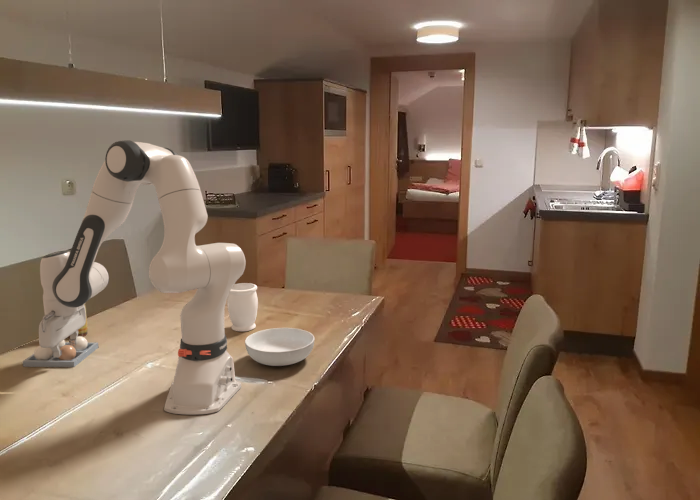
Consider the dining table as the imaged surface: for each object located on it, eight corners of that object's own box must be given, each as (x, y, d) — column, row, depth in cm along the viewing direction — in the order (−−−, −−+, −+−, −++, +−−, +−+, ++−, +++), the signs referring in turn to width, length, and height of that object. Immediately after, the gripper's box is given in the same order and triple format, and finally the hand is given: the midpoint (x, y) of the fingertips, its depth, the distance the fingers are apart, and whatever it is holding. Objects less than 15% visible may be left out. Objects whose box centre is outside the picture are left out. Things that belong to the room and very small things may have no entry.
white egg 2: (60, 355, 175) (59, 339, 174) (44, 354, 175) (43, 339, 174) (69, 348, 180) (67, 333, 178) (53, 348, 180) (51, 333, 179)
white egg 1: (48, 364, 168) (46, 348, 167) (31, 364, 168) (29, 348, 167) (57, 357, 173) (55, 342, 172) (41, 357, 173) (39, 342, 172)
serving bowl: (323, 350, 179) (323, 330, 178) (300, 378, 160) (300, 355, 158) (263, 344, 185) (262, 324, 184) (233, 370, 165) (232, 347, 164)
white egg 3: (83, 354, 174) (81, 338, 174) (67, 354, 175) (65, 339, 174) (91, 349, 179) (89, 334, 179) (75, 349, 180) (74, 334, 179)
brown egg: (71, 364, 167) (70, 348, 166) (55, 364, 168) (53, 348, 167) (80, 358, 172) (78, 342, 171) (63, 358, 172) (62, 342, 172)
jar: (242, 335, 193) (240, 292, 190) (222, 328, 199) (220, 287, 196) (265, 326, 201) (263, 285, 198) (244, 320, 207) (243, 281, 204)
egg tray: (74, 368, 166) (73, 361, 166) (23, 368, 167) (22, 361, 166) (98, 349, 181) (98, 342, 180) (51, 348, 181) (51, 342, 181)
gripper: (52, 317, 156) (57, 365, 159) (88, 296, 176) (92, 338, 179) (29, 317, 156) (35, 364, 159) (67, 296, 176) (72, 338, 179)
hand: (65, 350), depth 169 cm, fingers open, 7 cm apart
